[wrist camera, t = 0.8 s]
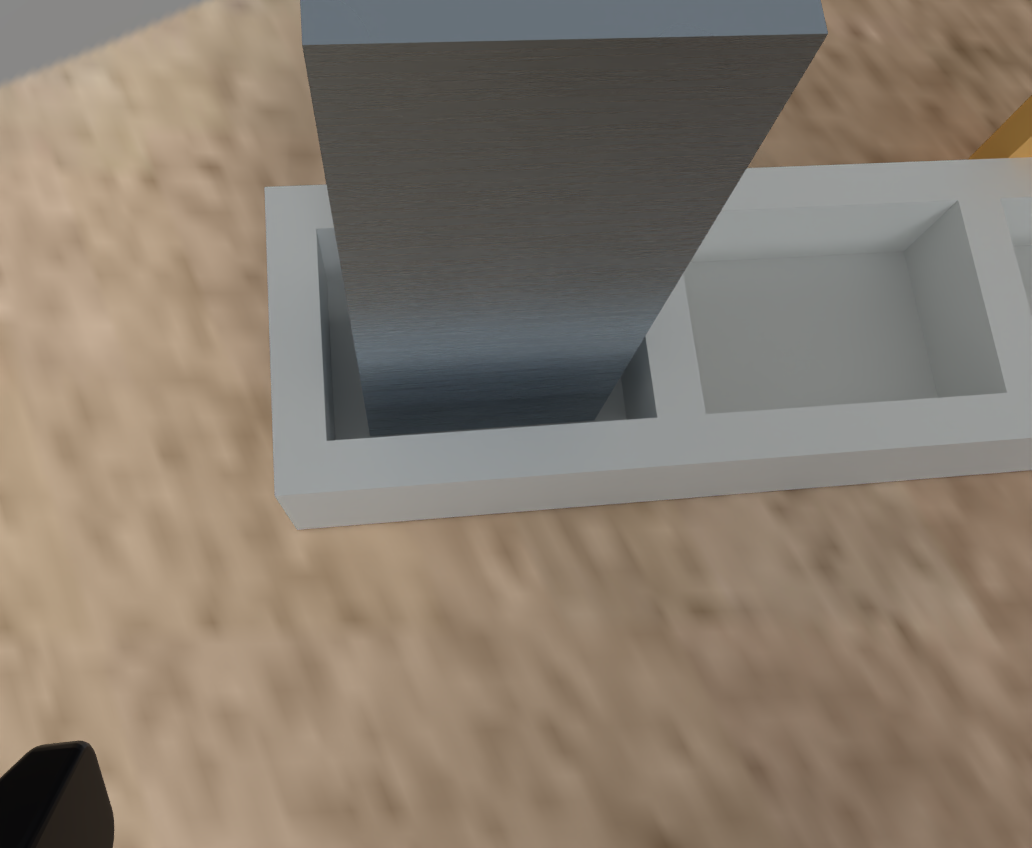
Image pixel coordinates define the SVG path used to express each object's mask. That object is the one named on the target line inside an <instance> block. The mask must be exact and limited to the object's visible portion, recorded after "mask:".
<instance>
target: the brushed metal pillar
mask: <svg viewBox="0 0 1032 848" xmlns="http://www.w3.org/2000/svg"><path fill="white" fill-rule="evenodd" d="M300 6H301V28H302V46H303V52H304V58H305V63H306V69H307V75H308V81H309V86H310V92H311V98H312V104H313V109H314V115H315V121H316V127H317V133H318V138H319V144H320V150H321V156H322V161H323V167H324V173H325V179H326V184H327V190H328V196H329V202H330V207H331V213H332V219H333V225H334V231H335V236H336V242H337V248H338V254H339V259H340V265H341V271H342V277H343V282H344V288H345V294H346V300H347V305H348V311H349V317H350V323H351V329H352V334H353V340H354V346H355V352H356V357H357V363H358V369H359V375H360V380H361V386H362V392H363V398H364V403H365V409H366V415H367V421H368V427H369V432H370V436H379V435H394V434H408V433H422V432H436V431H451V430H465V429H479V428H493V427H507V426H522V425H536V424H550V423H564V422H578V421H593V420H595V418H596V417H597V415H598V413H599V412H600V410H601V408H602V407H603V405H604V403H605V402H606V400H607V398H608V397H609V395H610V394H611V392H612V390H613V389H614V387H615V385H616V384H617V382H618V380H619V379H620V377H621V375H622V374H623V372H624V370H625V369H626V367H627V365H628V364H629V362H630V360H631V359H632V357H633V355H634V354H635V352H636V351H637V349H638V347H639V346H640V344H641V342H642V341H643V339H644V337H645V336H646V334H647V332H648V331H649V329H650V327H651V326H652V324H653V322H654V321H655V319H656V317H657V316H658V314H659V312H660V311H661V309H662V308H663V306H664V304H665V303H666V301H667V299H668V298H669V296H670V294H671V293H672V291H673V289H674V288H675V286H676V284H677V283H678V281H679V279H680V278H681V276H682V274H683V273H684V271H685V269H686V268H687V266H688V265H689V263H690V261H691V260H692V258H693V256H694V255H695V253H696V251H697V250H698V248H699V246H700V245H701V243H702V241H703V240H704V238H705V236H706V235H707V233H708V231H709V230H710V228H711V226H712V225H713V223H714V222H715V220H716V218H717V217H718V215H719V213H720V212H721V210H722V208H723V207H724V205H725V203H726V202H727V200H728V198H729V197H730V195H731V193H732V192H733V190H734V188H735V187H736V185H737V183H738V182H739V180H740V178H741V177H742V175H743V174H744V172H745V170H746V169H747V167H748V165H749V164H750V162H751V160H752V159H753V157H754V155H755V154H756V152H757V150H758V149H759V147H760V145H761V144H762V142H763V140H764V139H765V137H766V135H767V134H768V132H769V131H770V129H771V127H772V126H773V124H774V122H775V121H776V119H777V117H778V116H779V114H780V112H781V111H782V109H783V107H784V106H785V104H786V102H787V101H788V99H789V97H790V96H791V94H792V92H793V91H794V89H795V88H796V86H797V84H798V83H799V81H800V79H801V78H802V76H803V74H804V73H805V71H806V69H807V68H808V66H809V64H810V63H811V61H812V59H813V58H814V56H815V54H816V53H817V51H818V49H819V48H820V46H821V45H822V43H823V41H824V40H825V38H826V36H827V35H828V31H827V27H826V22H825V18H824V13H823V9H822V4H821V0H300Z"/></svg>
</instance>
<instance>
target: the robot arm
mask: <svg viewBox="0 0 1032 848" xmlns="http://www.w3.org/2000/svg"><path fill="white" fill-rule="evenodd" d="M113 841H114V817H113V811H112V807H111V804H110V801H109V797H108V794H107V791H106V787H105V784H104V781H103V777H102V774H101V771H100V767H99V764H98V761H97V757H96V754H95V752H94V750H93V748H92V747H91V745H90V744H89V743H87V742H84V741H71V742H62V743H53V744H44V745H40V746H37V747H35V748H33V749H31V750H30V751H29V752H28V753H26V754H25V755H24V756H23V757H22V758H21V759H20V760H19V761H18V762H17V763H16V764H15V765H13V766H12V767H11V768H10V769H9V770H8V771H7V772H6V773H5V774H4V775H3V776H2V777H1V778H0V848H113Z"/></svg>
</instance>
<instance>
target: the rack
mask: <svg viewBox="0 0 1032 848" xmlns="http://www.w3.org/2000/svg"><path fill="white" fill-rule="evenodd" d="M265 215H266V246H267V276H268V307H269V337H270V368H271V398H272V429H273V459H274V489H275V497H276V499H277V500H278V502H279V503H280V505H281V506H282V508H283V509H284V511H285V512H286V514H287V515H288V517H289V518H290V520H291V521H292V523H293V524H294V526H295V527H296V529H297V530H300V529H313V528H325V527H337V526H350V525H362V524H374V523H387V522H399V521H411V520H423V519H436V518H448V517H460V516H473V515H485V514H497V513H510V512H522V511H534V510H547V509H559V508H571V507H583V506H596V505H608V504H620V503H633V502H645V501H657V500H670V499H682V498H694V497H707V496H719V495H731V494H743V493H756V492H768V491H780V490H793V489H805V488H817V487H830V486H842V485H854V484H867V483H879V482H891V481H904V480H916V479H928V478H940V477H953V476H965V475H977V474H990V473H1002V472H1014V471H1027V470H1032V95H1031V96H1030V97H1029V98H1028V99H1027V100H1026V101H1025V102H1024V103H1023V104H1022V105H1021V106H1020V107H1019V108H1018V109H1017V110H1016V111H1015V112H1014V113H1013V114H1012V115H1011V116H1010V117H1009V119H1008V120H1007V121H1006V122H1005V123H1004V124H1003V125H1002V126H1001V127H1000V128H999V129H998V130H997V131H996V132H995V133H994V134H993V135H992V136H991V137H990V138H989V139H988V140H987V141H986V142H985V143H984V144H983V145H982V146H981V147H980V148H979V149H978V150H977V151H976V152H975V153H974V154H973V155H972V156H971V157H970V158H969V159H968V160H945V161H920V162H894V163H868V164H843V165H817V166H791V167H765V168H747V169H746V170H745V172H744V174H743V175H742V177H741V178H740V180H739V182H738V183H737V185H736V187H735V188H734V190H733V192H732V193H731V195H730V197H729V198H728V200H727V202H726V203H725V205H724V207H723V208H722V210H721V212H720V213H719V215H718V217H717V218H716V220H715V222H714V223H713V225H712V226H711V228H710V230H709V231H708V233H707V235H706V236H705V238H704V240H703V241H702V243H701V245H700V246H699V248H698V250H697V251H696V253H695V255H694V256H693V258H692V260H691V261H690V263H689V265H688V266H687V268H686V269H685V271H684V273H683V274H682V276H681V278H680V279H679V281H678V283H677V284H676V286H675V288H674V289H673V291H672V293H671V294H670V296H669V298H668V299H667V301H666V303H665V304H664V306H663V308H662V309H661V311H660V312H659V314H658V316H657V317H656V319H655V321H654V322H653V324H652V326H651V327H650V329H649V331H648V332H647V334H646V336H645V337H644V339H643V341H642V342H641V344H640V346H639V347H638V349H637V351H636V352H635V354H634V355H633V357H632V359H631V360H630V362H629V364H628V365H627V367H626V369H625V370H624V372H623V374H622V375H621V377H620V379H619V380H618V382H617V384H616V385H615V387H614V389H613V390H612V392H611V394H610V395H609V397H608V398H607V400H606V402H605V403H604V405H603V407H602V408H601V410H600V412H599V413H598V415H597V417H596V418H595V420H593V421H578V422H564V423H550V424H536V425H522V426H507V427H493V428H479V429H465V430H451V431H436V432H422V433H408V434H394V435H379V436H370V432H369V427H368V421H367V415H366V409H365V403H364V398H363V392H362V386H361V380H360V375H359V369H358V363H357V357H356V352H355V346H354V340H353V334H352V329H351V323H350V317H349V311H348V305H347V300H346V294H345V288H344V282H343V277H342V271H341V265H340V259H339V254H338V248H337V242H336V236H335V231H334V225H333V219H332V213H331V207H330V202H329V196H328V190H327V185H303V186H277V187H265Z"/></svg>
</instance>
